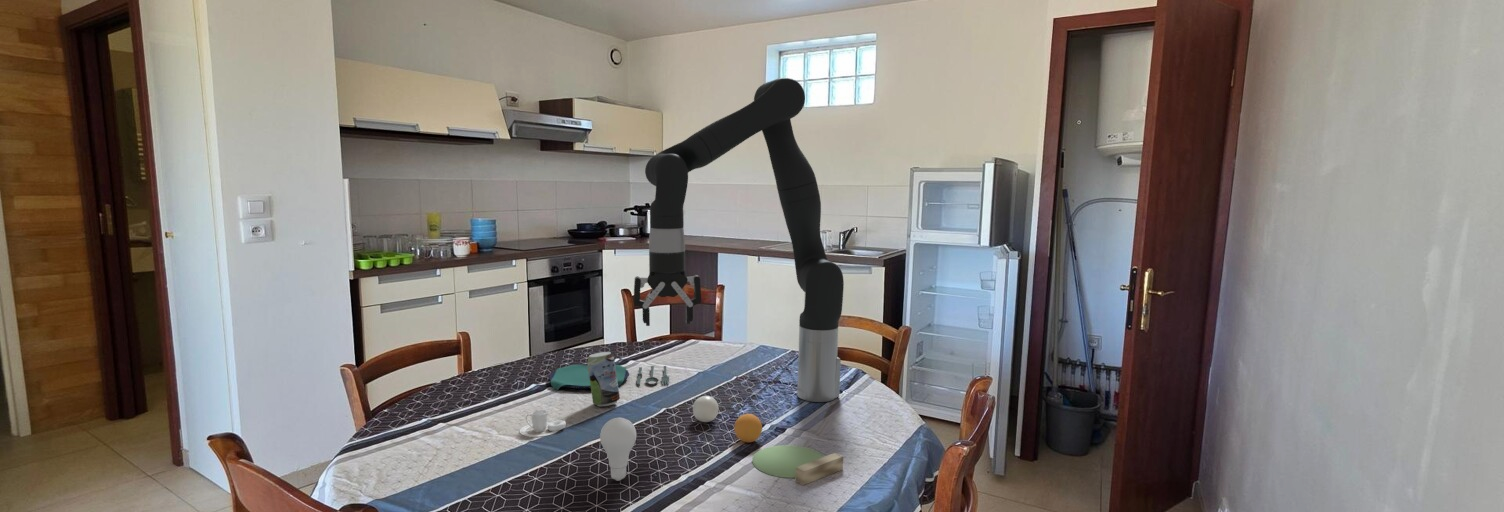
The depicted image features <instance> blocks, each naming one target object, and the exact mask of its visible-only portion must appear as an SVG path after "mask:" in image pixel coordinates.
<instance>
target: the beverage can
mask: <svg viewBox="0 0 1504 512" xmlns="http://www.w3.org/2000/svg"><path fill="white" fill-rule="evenodd" d="M615 361H616V359H615V357H614V355H613V354H612V353H611V351H600V352H595V353H592V354H590V355H589V356H588V359H587V363H586V364H588V371H589V379H590V386H591V388H590V391H591V399H592V404H594V405H596V406H597V407H599V408H600V407H601V408H602V407H608V406H612V405H615V404H616V403H617V402H618V401H619V400H620V391H619V385H618V382H617V374H616V367H615V365H616V362H615Z"/></svg>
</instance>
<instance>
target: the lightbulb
mask: <svg viewBox="0 0 1504 512" xmlns="http://www.w3.org/2000/svg"><path fill="white" fill-rule="evenodd" d="M636 439H637V429H636V427H635V425H634V424H633V422H631V420H629V419H627V418H624V417H619V416H618V417H614V418H611V419H609V420H608V421H606V423H604V425H603V426H602V428H601V430H600V434H599V440H600V444H601V446H602V448H603V449H604V451H605V453H606V455H607V458H608V466H609V467H610V477H611V479H613V480H615V481H617V482H619V481H622V480H623V479H625V478H626V476H627V466H628V464H629V456H630V453H631V451H632V449H633V447H634V445H635V443H636V441H637V440H636Z"/></svg>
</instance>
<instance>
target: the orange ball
mask: <svg viewBox="0 0 1504 512" xmlns="http://www.w3.org/2000/svg"><path fill="white" fill-rule="evenodd" d="M762 425H763V424H762V422H761V420H760V419H759V417H758V416H756V415H755V414H752V413H744V414H742V415H740V416H739V417H738V418H737V419H736V421H735V423H734V428H733V429H734V434H735V436H736V438H737V439H739V440H740V441H741V442H743V443H752V442H755V441H757V440H758V439H759V438H760V436H761V435H762V432H763V426H762Z"/></svg>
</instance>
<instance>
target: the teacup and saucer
mask: <svg viewBox="0 0 1504 512" xmlns="http://www.w3.org/2000/svg"><path fill="white" fill-rule="evenodd" d="M528 416H530V417H531V423H530V422H529V420H528ZM525 421H526V423H527V425H524V426H522V427H521V428H520V429H519V434H520V435H522V436H525V437H528V438H529V437H530V438H541V437H548V436H552V435H554V434H556V433H558V432H559V431H561V430H563V429H565V427H566V426H567V425H566V424H567V422H566V421H565V420H564V419H563V420H561V419H560V420H558V419H557V420H554V421H552V422H551V421H548V411H547V410H543V409H538V410H534V411H532V412H531V413H528V414H527V415H525ZM529 428H532V429H533V431H534V432H536V433H542V432H545V430H546V429H547V430H548V431H550V432H548V433H544V434H530V433H528V432H527V430H528V429H529Z"/></svg>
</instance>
